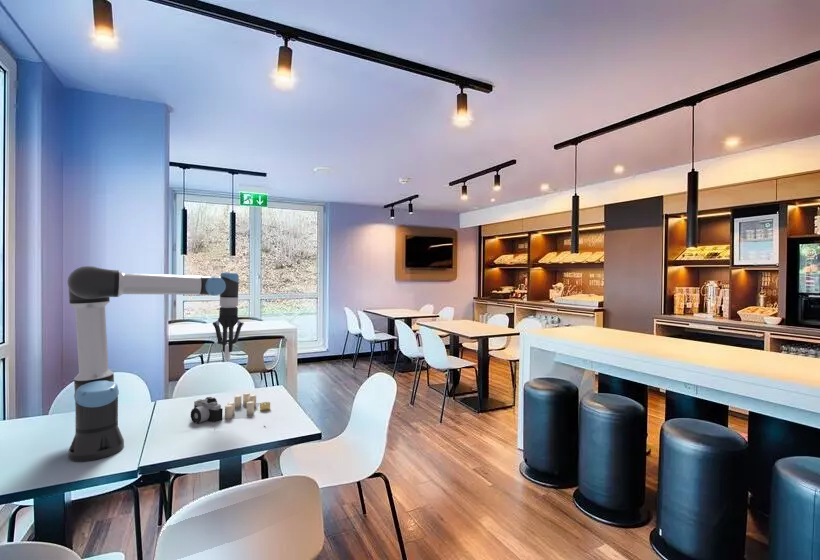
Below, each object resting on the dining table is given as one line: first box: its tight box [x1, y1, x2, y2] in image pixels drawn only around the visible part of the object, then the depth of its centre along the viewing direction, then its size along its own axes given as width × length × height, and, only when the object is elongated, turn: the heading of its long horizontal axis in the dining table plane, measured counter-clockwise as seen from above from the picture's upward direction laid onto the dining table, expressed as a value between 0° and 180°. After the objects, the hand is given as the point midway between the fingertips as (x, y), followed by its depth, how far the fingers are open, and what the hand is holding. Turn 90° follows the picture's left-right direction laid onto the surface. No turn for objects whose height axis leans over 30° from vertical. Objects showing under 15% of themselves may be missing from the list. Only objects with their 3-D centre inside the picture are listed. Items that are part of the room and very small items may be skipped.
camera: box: [190, 396, 223, 424], centre depth 167 cm, size 16×9×10 cm, turn 63°
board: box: [222, 392, 261, 420], centre depth 179 cm, size 20×12×6 cm, turn 10°
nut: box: [259, 401, 271, 412], centre depth 180 cm, size 4×4×3 cm
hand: (227, 359), depth 178 cm, fingers closed
